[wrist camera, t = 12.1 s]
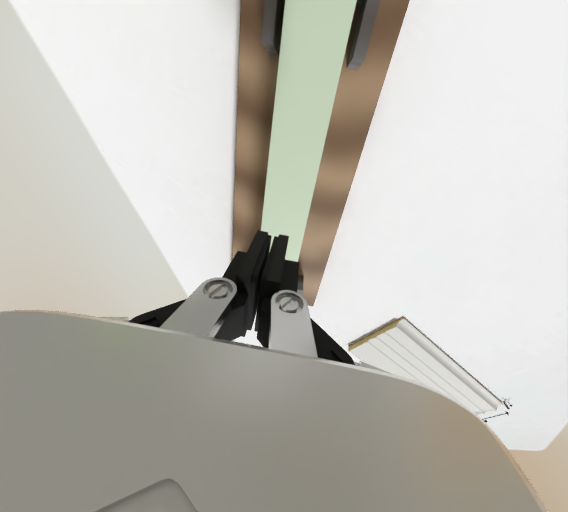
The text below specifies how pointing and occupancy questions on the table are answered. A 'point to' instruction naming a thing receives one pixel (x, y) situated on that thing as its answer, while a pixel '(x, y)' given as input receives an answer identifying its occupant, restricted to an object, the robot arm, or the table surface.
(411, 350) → the baseboard molding
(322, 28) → the slat
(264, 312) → the robot arm
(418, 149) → the table surface
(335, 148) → the endcap board
